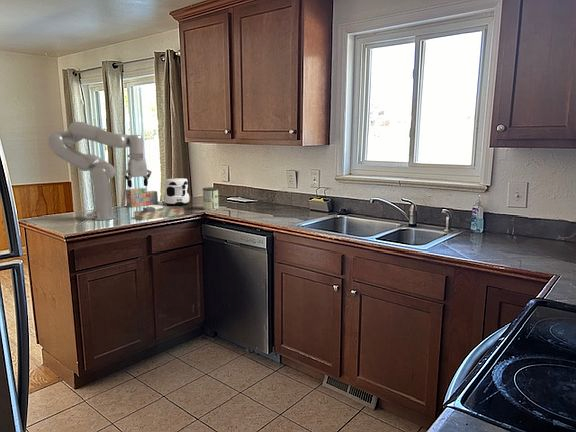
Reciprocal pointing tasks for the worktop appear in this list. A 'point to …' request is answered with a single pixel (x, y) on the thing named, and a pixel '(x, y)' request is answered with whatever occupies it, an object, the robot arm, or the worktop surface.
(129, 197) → the stack of blocks
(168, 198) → the milk container
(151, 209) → the block
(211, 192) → the coffee can
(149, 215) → the lane
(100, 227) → the worktop surface
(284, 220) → the worktop surface
